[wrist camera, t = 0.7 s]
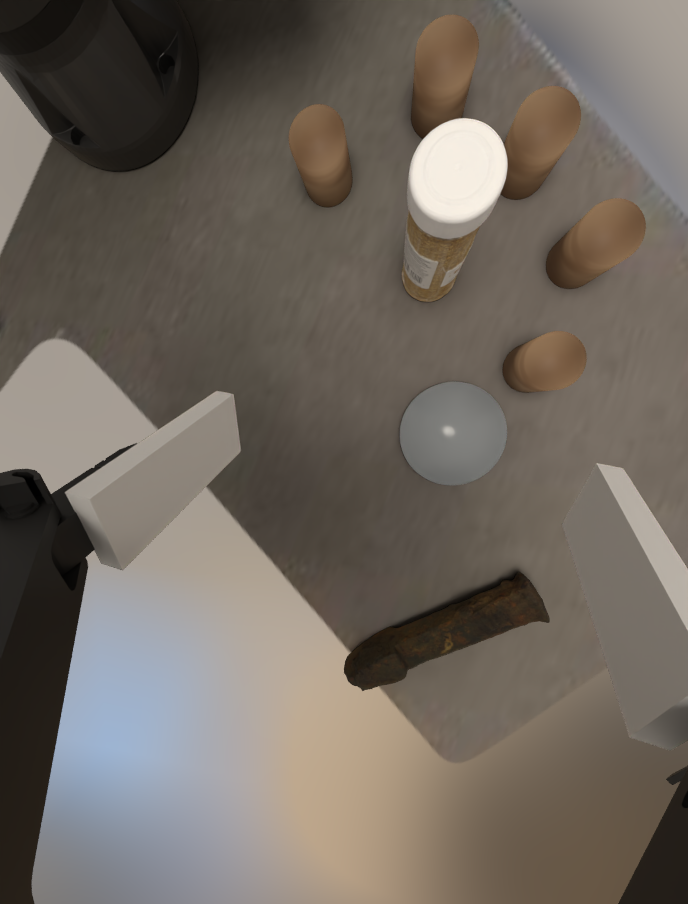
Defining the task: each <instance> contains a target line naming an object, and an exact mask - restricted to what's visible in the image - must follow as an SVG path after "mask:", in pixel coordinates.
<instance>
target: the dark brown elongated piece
mask: <svg viewBox="0 0 688 904" xmlns="http://www.w3.org/2000/svg"><path fill="white" fill-rule="evenodd" d="M549 620H550V618H549V615H548V613H547V611H546V608H545V606H544V603H543V600H542V598H541V597H540V595H539V594H538V592H537V591H536V589H535V587H534V586H533V585H532V583H531V582H530V580H529V579H527V577H526V576H524V575H523V574H522V573H520V572H518V573H517V574H516V576H515V578H514V580H512V581H509V580H502V581H501V585H499V586H497V587H495V588H493V589H491V590H489V591H486V592H483V593H480V594H477V595H475V596H473V597H472V598H470V599H468V600H465V601H463V602H460V603H458V604H455V605H453V604H452V605H449V606H448V607H447V608H445V609H443V610H440V611H438V612H434V613H433V614H431V615H429V616H427V617H424V618H422V619H419V620H417V621H414V622H412V623H409V624H407V625H404V626H402V627H400V628H394V627H388V628H386V629H384V630H382V631H380V632H379V633H377V634H375V635H374V636H372V637H371V638H369V639H368V640H367V641H365V642H364V643H362V644H361V645H360V646H359V647H357V648H356V649H355V650H354V651H353V652H352V653H350V654H349V655H348V657H347V659H346V661H345V666H344V673H345V675H346V677H347V679H348V681H349V682H350V683H351V684H352V685H354V686H358V687H360V688H361V689H362V691H364V690H367V689H372V688H374V687H378V686H381V685H387V684H392V683H396V682H398V681H400V680H402V679H404V678H405V677H406V674H407V671H408V670H409V669H411V668H414V667H416V666H417V665H419V664H422V663H424V662H426V661H429V660H431V659H434V658H438V657H441V656H444V655H447V654H449V653H452V652H454V651H457V650H460V649H463V648H465V647H468V646H470V645H473V644H476V643H478V642H481V641H483V640H486V639H489V638H492V637H494V636H496V635H499V634H502V633H504V632H506V631H508V630H511V629H513V628H517V627H519V626H522V625H526V624H528V623H531V622H537V621H541V622H546V623H548V622H549Z"/></svg>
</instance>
